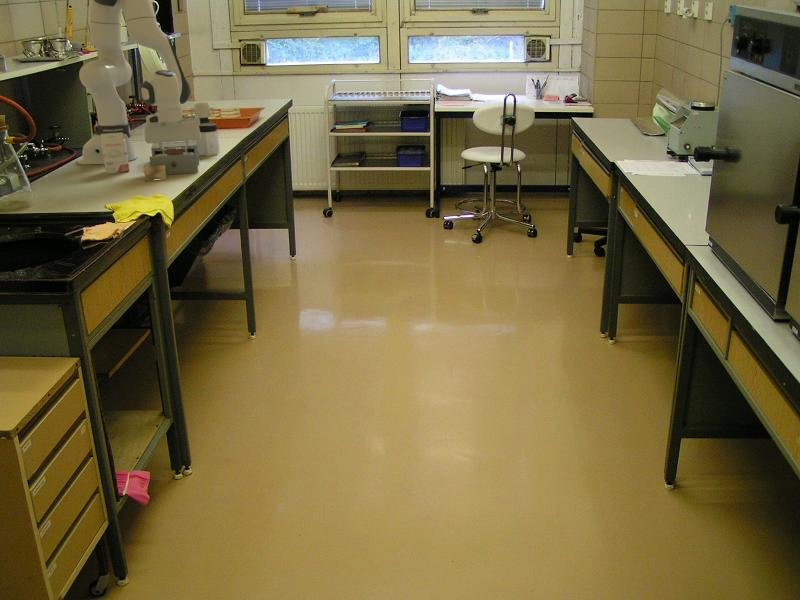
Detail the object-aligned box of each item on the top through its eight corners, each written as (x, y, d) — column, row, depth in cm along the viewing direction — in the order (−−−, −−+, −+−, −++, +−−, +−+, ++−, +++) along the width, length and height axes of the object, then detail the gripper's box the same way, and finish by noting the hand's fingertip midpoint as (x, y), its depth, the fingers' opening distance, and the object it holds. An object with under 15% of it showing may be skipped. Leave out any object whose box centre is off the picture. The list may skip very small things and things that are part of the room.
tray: (151, 175, 311) (149, 157, 309) (154, 166, 327) (152, 149, 325) (198, 172, 314) (196, 154, 312) (198, 163, 330) (196, 146, 328)
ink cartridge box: (129, 169, 325) (124, 130, 320) (129, 172, 320) (123, 132, 315) (105, 171, 323) (100, 132, 318) (105, 173, 318) (99, 134, 313)
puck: (166, 156, 317) (166, 150, 316) (167, 154, 323) (166, 147, 322) (183, 155, 318) (182, 149, 317) (183, 152, 324) (182, 146, 323)
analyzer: (153, 167, 327) (151, 147, 324) (155, 159, 341) (153, 140, 339) (199, 164, 330) (197, 144, 327) (199, 157, 344) (197, 137, 342)
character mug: (217, 129, 410) (214, 102, 405) (214, 132, 403) (212, 104, 399) (194, 130, 410) (191, 102, 405) (191, 132, 403) (188, 104, 398)
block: (145, 181, 304) (144, 170, 302) (146, 177, 310) (145, 166, 309) (165, 179, 305) (164, 168, 304) (166, 175, 312) (165, 165, 310)
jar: (202, 156, 345) (199, 126, 341) (195, 153, 352) (192, 124, 347) (223, 154, 350) (220, 124, 346) (216, 151, 356) (213, 122, 352)
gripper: (199, 113, 320) (203, 150, 325) (142, 116, 317) (147, 154, 321) (199, 115, 315) (203, 152, 319) (141, 119, 311) (147, 156, 316)
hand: (175, 153), depth 320 cm, fingers closed on puck, 6 cm apart
